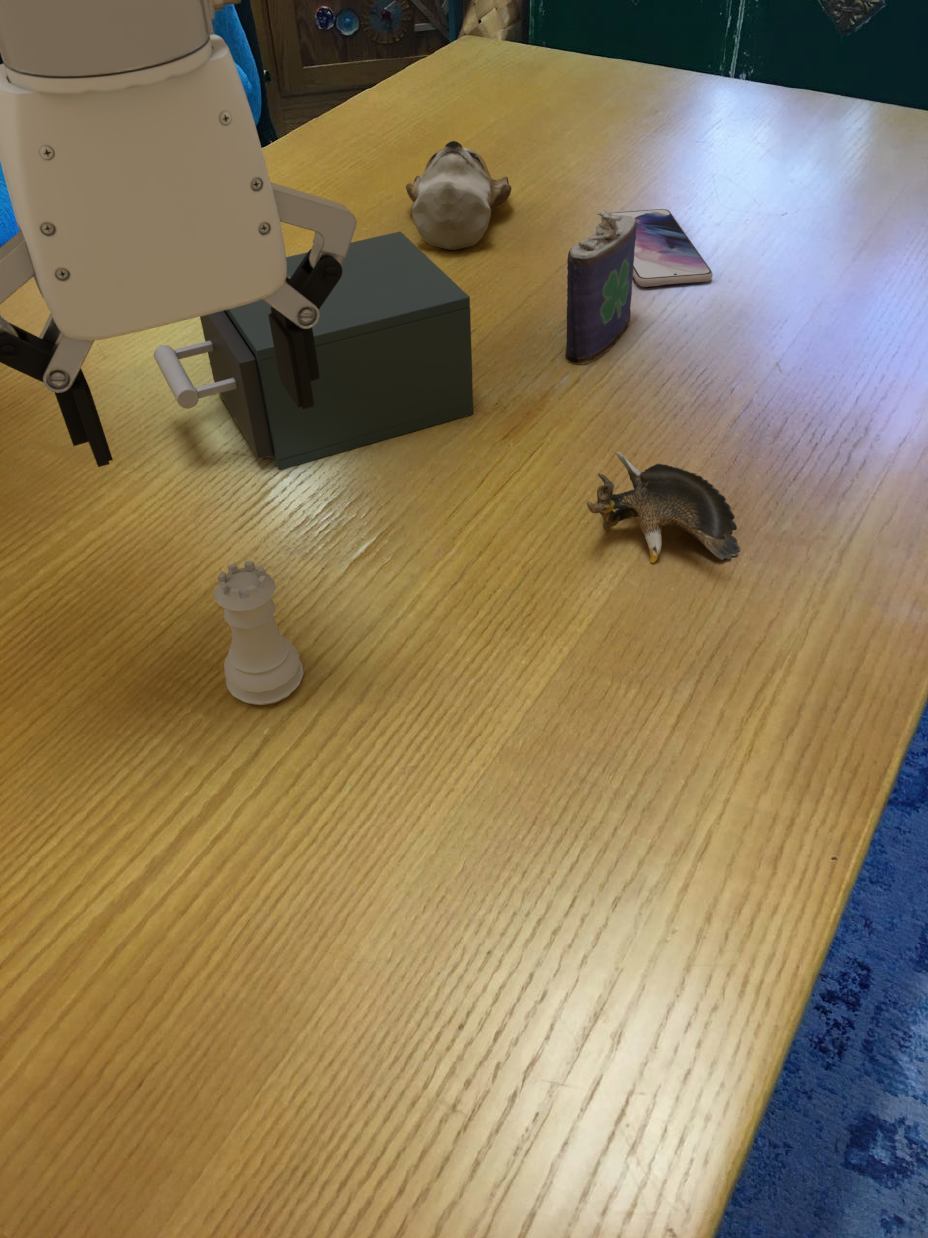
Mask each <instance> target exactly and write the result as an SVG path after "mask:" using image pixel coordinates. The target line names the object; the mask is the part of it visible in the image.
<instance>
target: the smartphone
mask: <svg viewBox="0 0 928 1238" xmlns="http://www.w3.org/2000/svg"><path fill="white" fill-rule="evenodd" d="M609 213H610V214H614V215H627V216H632V217H633V218H635V219H636V221H637V229H636V240H635V251H634V264H633V277H632V278H633V279H634V281H635V282H636V284H637V285H638V286H640V287H643V288H648V287H651V288H652V287H661V286H665V285H675V284H676V285H677V284H691V283H703V282H709V281H710V280H712V278H713V275H714V273H713V270H711V268H710V266H709V265H708V264H707V262H706V261H705V259H704V258H703V257H702V255H701V253H700V252H699V251H698V249H697V248H696V246H695V245H694V243H693V242H692V240H691V239H690V238H689V236H688V235H687V234H686V232H685V231H684V229H683V228H682V227H681V225H680V224H679V222H678V221H677V219H676V218H675V216H674V215H673V214H672V213H671V211H670V210H669V209H667V208H656V209H655V208H654V209H641V210H629V211H627V210H626V211H615V212H613V211H612V212H609ZM600 220H601V222H602V221H603V219H602V217H601V216H600Z"/></svg>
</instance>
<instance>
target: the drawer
mask: <svg viewBox="0 0 928 1238" xmlns="http://www.w3.org/2000/svg"><path fill="white" fill-rule="evenodd" d="M199 319H200V323H201V324H200V325H201V328H202V333H203V337H204V341H203V342H198V343H194V344H190V345H186V346H183V347H178V348H174V349H173V348H172V347H171V346H170V345H168V344H161V345H159V346H157V347H156V348H155V349H154V351H153V358H154V361H155V362H156V364H157V366H158V368H159V370H160V372H161V374H162V376H163V377H164V380H165V381H166V384H167V385H168V387H169V389H170V391H171V393H172V395H173V397H174V399H175V400H176V403H177V405H179V406H180V407H181V408H183V409H192V408H194V407H196V406H197V404H198V403H199V399H203V398H207V397H210V396H211V397H212V396H214V395H217V394H219V396H220V397H221V399H222V400H223V402H224V404H225V405H226V407H227V409H228V411H229V412H230V414H231V416H232V417H233V419H234V421H235V423H236V424H237V426H238V428H239V429H240V431H241V432H242V435H243V436H244V438H245V440H246V442H247V443H248V445H249V446H250V448H251V450H252V451H253V453H254V455H255V457H256V458H257V460H262V459H267V458H269V457H270V458H271V456H273V455H274V453H273V448H272V442H271V437H270V432H269V426H268V421H267V416H266V410H265V405H264V399H263V394H262V389H261V383H260V378H259V373H258V367H257V362H256V356H255V354H254V353H253V351H252V350H251V348H250V347H249V345H248V344H247V342H246V341H245V339H244V338H243V336H242V335H241V333H240V332H239V330H238V331H237V330H236V328H235V327H234V325H233V324H232V322H231V321H230V319H229V318H228V316H227V315H226V313H225V312H224V311H220V312H216V313H212V314H208V315H204V316H200V317H199ZM238 332H239V333H238ZM206 353H207V357H208V361H209V366H210V369H211V373H212V378H213V382H211V383H207V384H204V385H200V386H194V384H193V383H192V381H191V379H190V377H189V375H188V374H187V372H186V370H185V368H184V366H183V365H182V363H181V360H182V359H186V358H191V357H194V356H198V355H202V354H206Z"/></svg>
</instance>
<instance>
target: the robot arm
mask: <svg viewBox="0 0 928 1238" xmlns="http://www.w3.org/2000/svg"><path fill="white" fill-rule="evenodd" d="M241 2H242V0H0V57H1V59H2V62H3V63H1V64H0V165H1V169H2V173H3V177H4V180H5V184H6V188H7V192H8V196H9V199H10V203H11V207H12V210H13V212H14V217H15V220H16V224H17V229H18V232H17V233H16V234H14V236H13V237H11V238H10V239H9V240H7V242H6V243H4V244H3V245H1V246H0V305H1V304H3V303H4V302H5V301H6V300H7V299H9V298H10V297H11V296H13V295H14V294H15V293H16V292H17V291H18V290H19V289H20V288H22V287H23V286H24V285H25V284H27V283H28V282H29V281H30V280H31V279H32V278H34V281H35V284H36V286H37V289H38V292H39V293H40V295H41V297H42V299H43V300H44V302H45V304H46V307H47V309H48V311H49V313H50V314H49V316H48V317H47V319H46V322H45V324H44V325H43V328H42V330H41V332H40V333H39V336H37V335H35V334H33V333H32V332H29V331H27V330H25V329H23V328H21V327H19V326H17V325H15V324H13V323H11V322H8V321H7V320H6V319H5V318H4V317H3V316H2V315H1V314H0V364H3V365H5V366H7V367H9V368H11V369H13V370H15V371H18V372H19V373H22V374H23V375H26V376H27V377H30V378H33V379H34V380H36V381H39V382H41V383H43V384H44V386H45V388H46V389H47V390H49V391H50V392H51V393H54V395H55V398H56V401H57V403H58V407H59V410H60V412H61V415H62V418H63V421H64V424H65V426H66V429H67V432H68V435H69V438H70V439H71V443H72V446H73V447H76V446H80V445H84V444H87V443H88V445H89V447H90V449H91V453H92V455H93V458H94V460H95V462H96V465H97V468H100V467H105V466H107V465H110V462H111V461H113V460H114V459H113V456H112V452H111V449H110V446H109V443H108V439H107V438H106V433H105V431H104V428H103V425H102V422H101V419H100V416H99V412H98V409H97V406H96V403H95V400H94V397H93V393H92V390H91V387H90V386H89V383H88V381H87V379H86V377H85V374H84V372H83V369H82V367H83V364H84V363H85V360H86V358H87V357H88V355H89V352H90V351H91V349H92V347H93V345H94V342H95V341H100V340H101V341H102V340H108V339H113V338H117V337H121V336H126V335H130V334H135V333H139V332H143V331H146V330H151V329H155V328H160V327H163V326H168V325H171V324H176V323H179V322H180V323H181V322H184V321H188V320H192V319H196V318H200V316H204V315H208V314H212V313H216V312H220V311H224V310H228V309H232V308H235V307H239V306H243V305H247V304H250V303H253V302H256V301H259V300H261V299H263V300H264V301H265V302H267V303H268V304H269V305H271V306H272V307H270V308H271V313H270V314H268V316H269V322H270V328H271V333H272V338H273V344H274V349H275V355H276V360H277V366H278V371H279V377H280V380H281V383H282V385H283V386H284V388H285V389H286V391H287V392H288V394H289V395H290V396H291V398H292V399H293V401H294V402H295V404H296V405H297V407H298V408H300V407H302V409H307V408H311V407H314V400H313V394H312V388H311V381H314V380H317V379H319V368H318V362H317V355H316V349H315V342H314V336H313V329H312V327H314V326H315V325H316V324H317V322H318V321H319V318H320V312H319V309H320V307H321V306H322V305H323V303H324V302H325V300H326V299H327V297H328V296H329V294H330V293H331V291H332V290H333V289H334V287H335V286H336V284H337V283H338V281H339V280H340V278H341V276H342V266H341V265H342V262H343V259H344V258H346V255H347V252H348V249H349V246H350V243H351V242H352V240H353V236H354V233H355V231H356V228H357V223H358V221H357V218H356V216H355V215H354V214H353V213H352V211H351V210H349V209H348V208H347V207H346V206H345V205H344V204H342V203H340V202H338V201H334V200H331V199H327V198H324V197H321V196H319V195H318V196H317V195H314V194H311V193H308V192H304V191H302V190H297V189H294V188H292V187H288V186H285V185H281V184H278V183H275V182H272V181H271V179H270V175H269V171H268V167H267V163H266V159H265V157H264V153H263V148H262V145H261V141H260V138H259V134H258V130H257V126H256V122H255V119H254V117H253V112H252V110H251V106H250V103H249V100H248V97H247V94H246V91H245V88H244V86H243V82H242V80H241V77H240V74H239V71H238V69H237V66H236V65H237V64H235V60H234V58H233V56H232V53H231V51H230V48H229V46H228V44H227V43H226V42H225V40H224V38H222V36H220V35H217V34H215V29H214V24H213V20H216V12H220V11H223V9H224V6H231V5H237V4H241ZM281 223H284V224H287V225H291V226H294V227H298V228H302V229H304V230H308V231H312V232H314V235H313V239H312V243H313V244H312V247H311V248H310V249H309V250H308V253H307V252H306V253H307V254H306V256H305V257H304V259H303V260H302V262H301V263H300V265H299V266H298V268H297V269H296V271H295V272H294V274H293V275H292V277H291V278H290V277H288V276H287V261H286V257H287V251H286V246H285V241H284V235H283V230H282V225H281Z"/></svg>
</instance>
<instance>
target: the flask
mask: <svg viewBox="0 0 928 1238" xmlns="http://www.w3.org/2000/svg"><path fill="white" fill-rule="evenodd" d="M610 213H611V212H607V211H606V210H602V211H597V212H596V215H597V216H599V217H600V218H601V217H602V219H603V221H601V222H600V223H599V224H598V226H597V227H596V229H595V233H594V234H593V235H591V236H590V237H587V238H586V239H585V240H582V239H580V240H579V241H578V243H576V244H573V246H571V248H570V249H569V250H568V254H567V259H566V261H567V262H566V263H567V268H566V269H567V275H566V278H567V280H566V284H567V285H566V286H567V288H566V297H567V298H566V348H565V359H566V362H567V363H571V364H574V365H585V364H589V363H591V362H593V361H595V360H597V359H598V358H600V357H601V356H603V355H604V354H606V352H608V351H610V349H612V347H613V346H614V345H615V344H617V343H616V342H617V341H618V340H619V339H620V338H621V337H622V335H623V334H624V333H625V332H626V331H627V329H628V327H629V324H630V320H631V311H632V310H631V303H632V295H633V278H634V277H633V264H634V251H635V240H636V229H637V221H636V219H635V218H633V217H632V216H627V215H614V214H610Z"/></svg>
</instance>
